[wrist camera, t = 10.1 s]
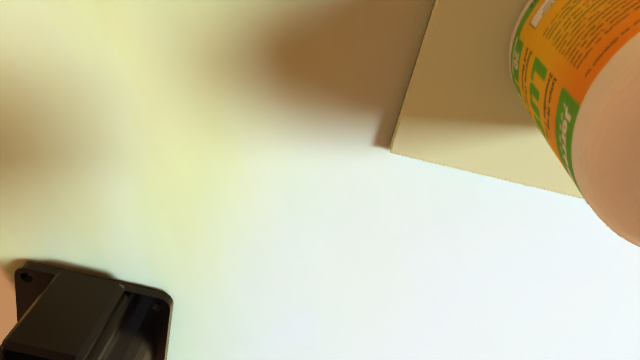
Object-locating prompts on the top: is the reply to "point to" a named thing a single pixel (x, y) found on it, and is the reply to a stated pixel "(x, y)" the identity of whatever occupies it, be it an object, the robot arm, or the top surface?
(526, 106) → the supplement bottle
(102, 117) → the top surface
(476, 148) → the pad
